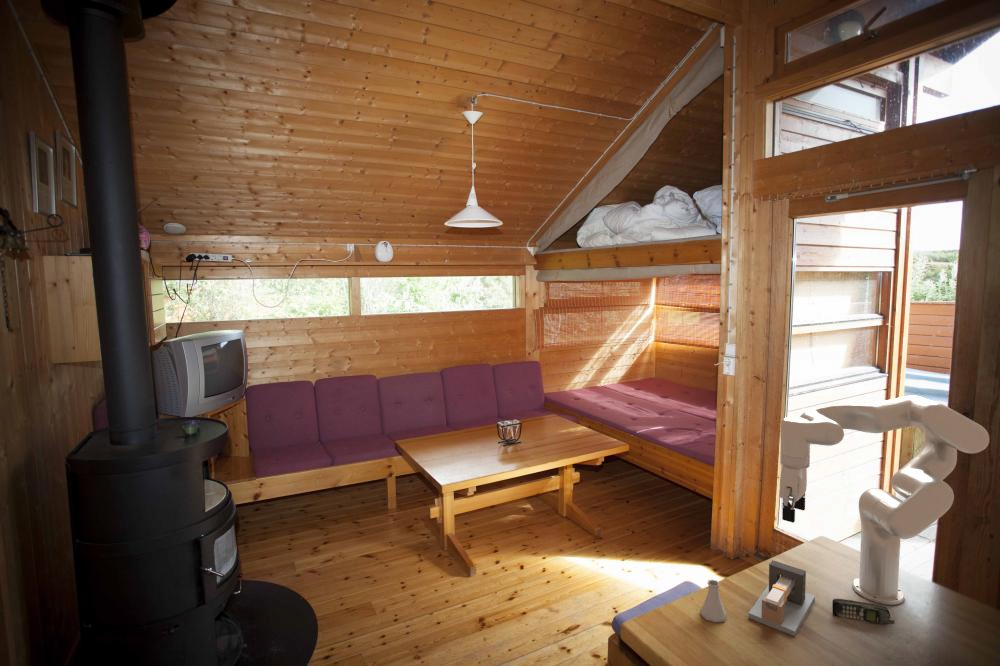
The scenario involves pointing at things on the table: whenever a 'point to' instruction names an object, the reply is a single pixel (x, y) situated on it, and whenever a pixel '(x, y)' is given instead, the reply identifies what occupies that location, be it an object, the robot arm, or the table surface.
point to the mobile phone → (861, 611)
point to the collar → (792, 573)
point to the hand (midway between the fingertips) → (793, 514)
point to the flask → (713, 604)
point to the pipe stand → (781, 607)
